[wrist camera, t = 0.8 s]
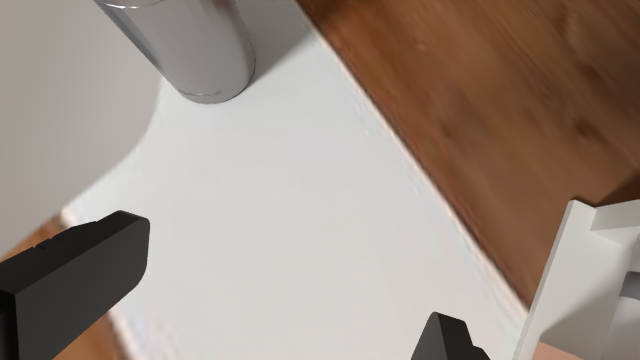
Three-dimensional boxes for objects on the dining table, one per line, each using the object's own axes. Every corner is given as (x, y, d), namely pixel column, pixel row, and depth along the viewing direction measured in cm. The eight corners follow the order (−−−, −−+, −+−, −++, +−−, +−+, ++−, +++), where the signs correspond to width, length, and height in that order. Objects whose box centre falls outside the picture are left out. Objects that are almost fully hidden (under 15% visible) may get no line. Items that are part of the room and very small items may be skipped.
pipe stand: (559, 465, 28) (640, 539, 20) (488, 426, 29) (541, 484, 21) (634, 227, 32) (725, 218, 24) (569, 199, 32) (638, 181, 25)
